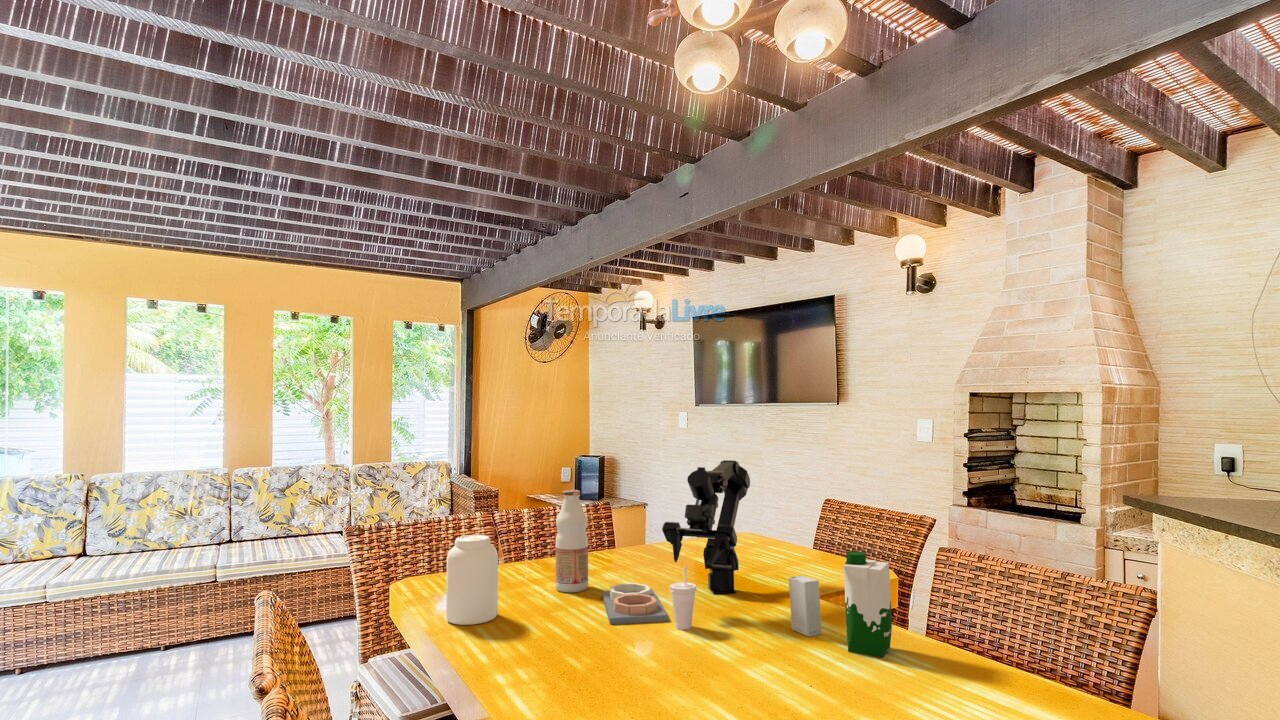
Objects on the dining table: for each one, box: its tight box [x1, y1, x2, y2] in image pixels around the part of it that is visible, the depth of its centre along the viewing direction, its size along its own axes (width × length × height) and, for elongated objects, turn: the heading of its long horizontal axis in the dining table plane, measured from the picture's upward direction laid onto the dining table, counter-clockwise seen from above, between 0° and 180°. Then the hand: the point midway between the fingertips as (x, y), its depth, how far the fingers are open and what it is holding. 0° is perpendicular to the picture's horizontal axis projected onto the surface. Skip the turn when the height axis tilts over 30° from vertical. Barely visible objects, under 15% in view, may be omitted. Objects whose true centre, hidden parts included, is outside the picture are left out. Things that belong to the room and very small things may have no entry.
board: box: [601, 582, 668, 625], centre depth 173 cm, size 14×24×4 cm, turn 8°
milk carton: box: [842, 550, 893, 659], centre depth 142 cm, size 9×9×20 cm
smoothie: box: [668, 566, 697, 631], centre depth 158 cm, size 6×6×14 cm
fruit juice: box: [555, 489, 589, 593], centre depth 193 cm, size 9×9×28 cm
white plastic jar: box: [445, 534, 499, 626], centre depth 167 cm, size 12×12×20 cm
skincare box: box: [788, 575, 823, 637], centre depth 153 cm, size 6×4×12 cm
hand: (692, 562), depth 165 cm, fingers open, 9 cm apart
